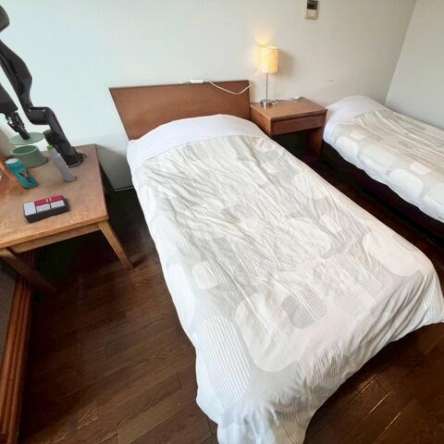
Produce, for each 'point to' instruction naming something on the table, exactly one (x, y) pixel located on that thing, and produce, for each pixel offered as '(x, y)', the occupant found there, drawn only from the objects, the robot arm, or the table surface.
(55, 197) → the grey and red box
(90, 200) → the table surface
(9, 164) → the beverage can
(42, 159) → the pot
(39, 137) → the lid
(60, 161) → the bottle
